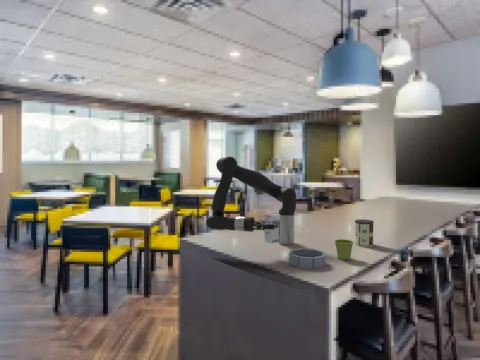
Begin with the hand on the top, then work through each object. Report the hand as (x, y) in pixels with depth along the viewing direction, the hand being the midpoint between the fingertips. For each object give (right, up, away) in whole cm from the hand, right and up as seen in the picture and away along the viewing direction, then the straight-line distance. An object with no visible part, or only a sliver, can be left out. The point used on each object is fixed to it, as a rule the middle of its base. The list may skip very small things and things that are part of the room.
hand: (276, 225), depth 169 cm
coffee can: (+54, -15, +27) cm, 62 cm away
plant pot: (+34, -17, 0) cm, 38 cm away
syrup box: (-2, -9, +1) cm, 9 cm away
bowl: (+14, -17, -8) cm, 23 cm away
